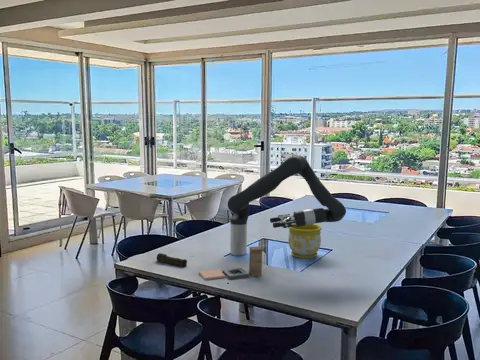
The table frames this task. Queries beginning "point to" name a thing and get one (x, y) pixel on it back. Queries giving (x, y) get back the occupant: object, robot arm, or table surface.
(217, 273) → the tile
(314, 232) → the flowerpot
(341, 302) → the table surface
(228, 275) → the hole plate
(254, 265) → the walnut block
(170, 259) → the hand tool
